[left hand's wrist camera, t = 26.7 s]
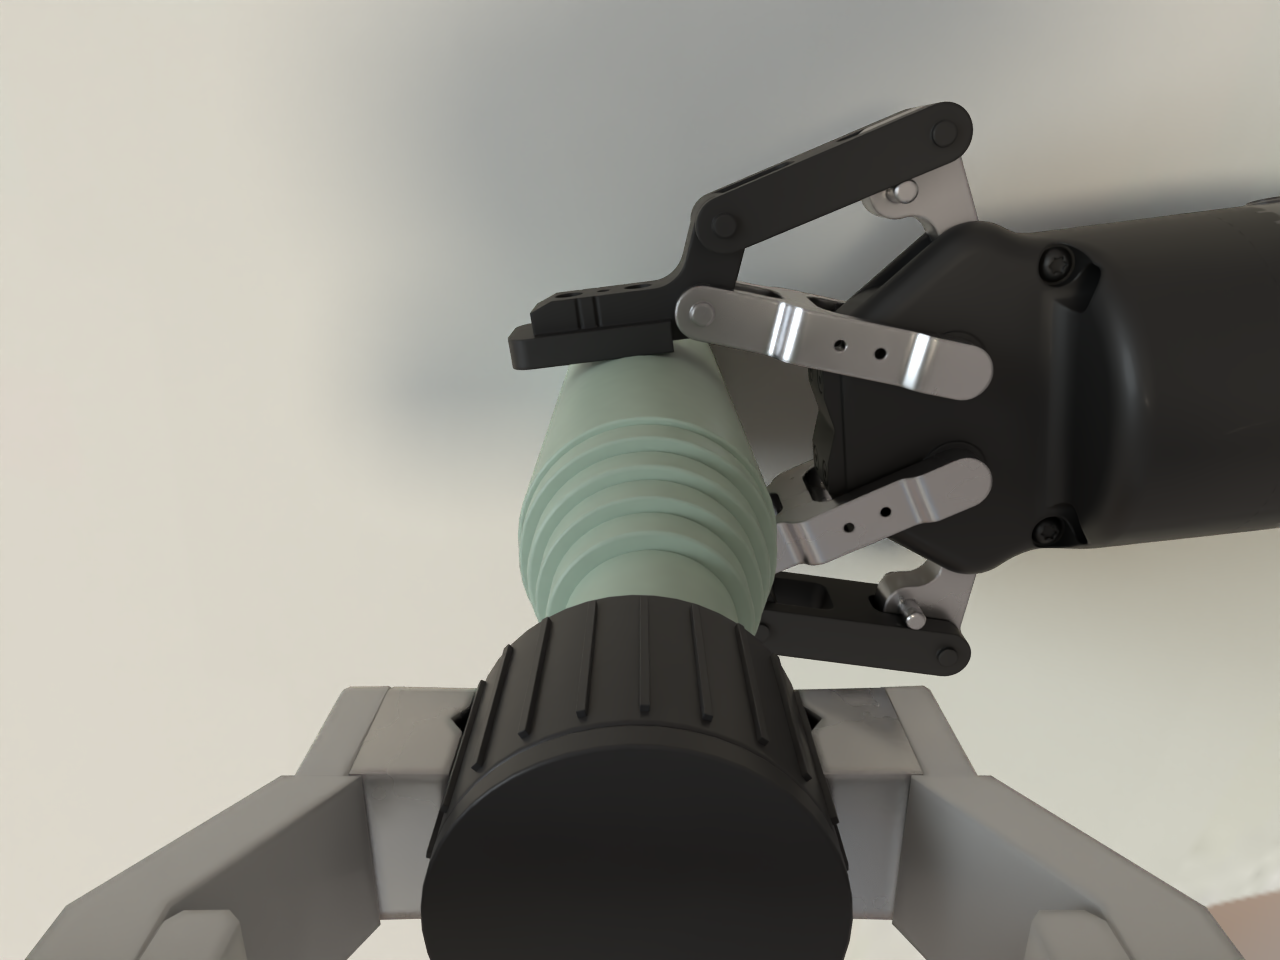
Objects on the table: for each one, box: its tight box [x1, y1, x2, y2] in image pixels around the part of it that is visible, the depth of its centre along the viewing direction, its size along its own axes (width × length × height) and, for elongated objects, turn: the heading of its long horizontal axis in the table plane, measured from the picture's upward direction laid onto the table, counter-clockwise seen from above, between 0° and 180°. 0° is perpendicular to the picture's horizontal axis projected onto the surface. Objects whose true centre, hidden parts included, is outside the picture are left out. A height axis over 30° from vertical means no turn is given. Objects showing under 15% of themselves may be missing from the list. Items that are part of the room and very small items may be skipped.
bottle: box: [518, 339, 777, 636], centre depth 19 cm, size 5×5×19 cm
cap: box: [420, 595, 853, 960], centre depth 9 cm, size 4×4×3 cm
